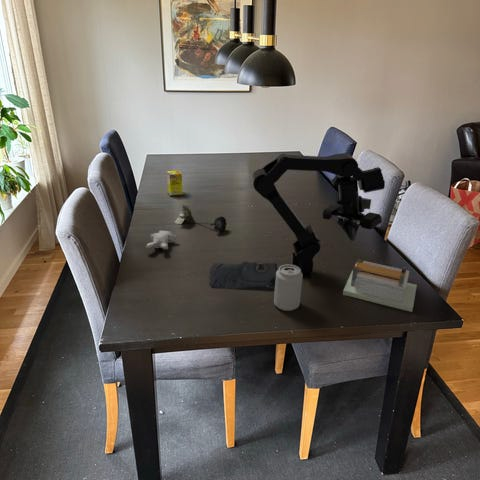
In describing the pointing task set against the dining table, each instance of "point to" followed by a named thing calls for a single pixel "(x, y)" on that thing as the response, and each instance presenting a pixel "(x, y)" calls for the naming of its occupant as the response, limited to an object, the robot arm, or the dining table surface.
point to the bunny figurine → (161, 239)
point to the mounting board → (404, 305)
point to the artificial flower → (186, 215)
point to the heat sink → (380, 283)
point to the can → (288, 287)
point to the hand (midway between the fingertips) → (352, 240)
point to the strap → (379, 270)
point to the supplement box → (174, 183)
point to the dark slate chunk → (243, 276)
